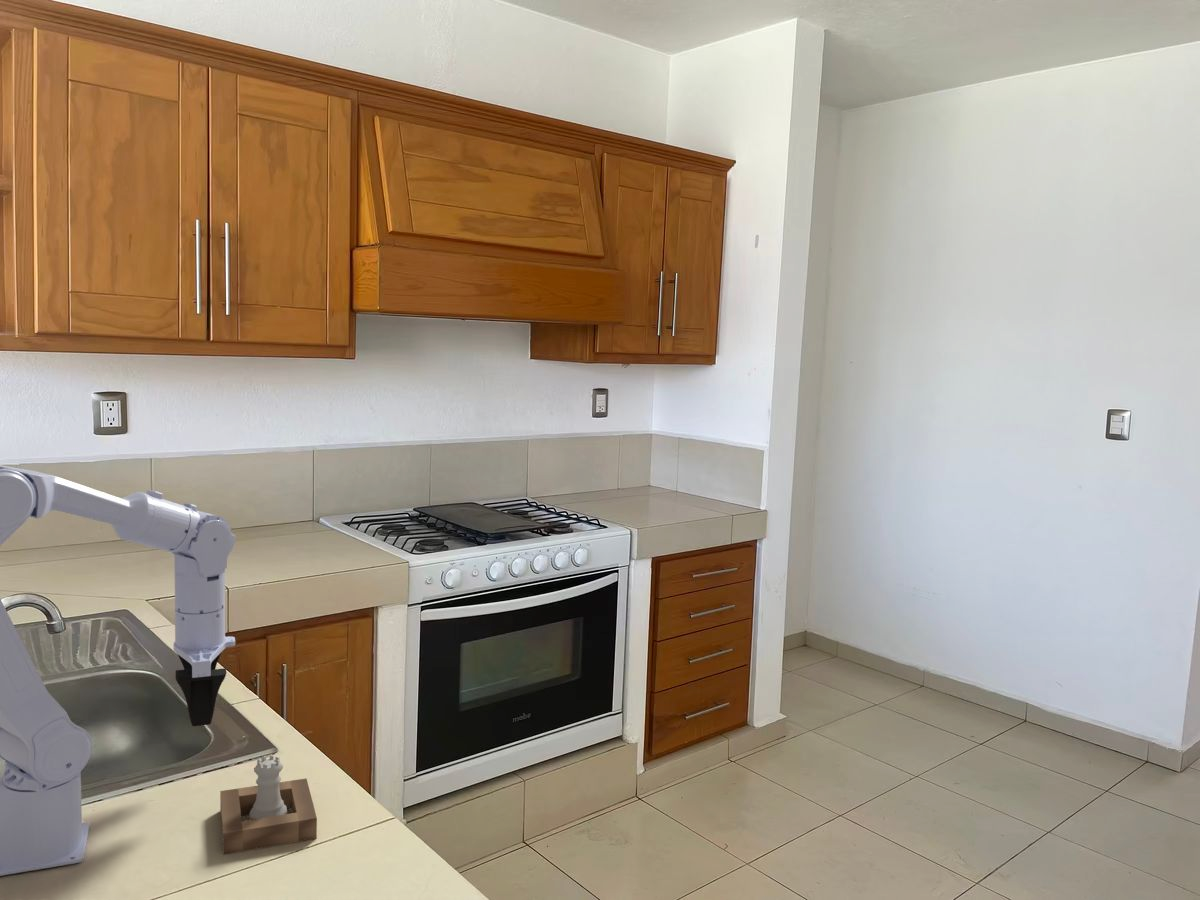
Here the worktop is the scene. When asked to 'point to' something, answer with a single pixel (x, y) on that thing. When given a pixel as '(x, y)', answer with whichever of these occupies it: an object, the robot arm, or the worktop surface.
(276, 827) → the walnut docking collar
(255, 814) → the rook chess piece
